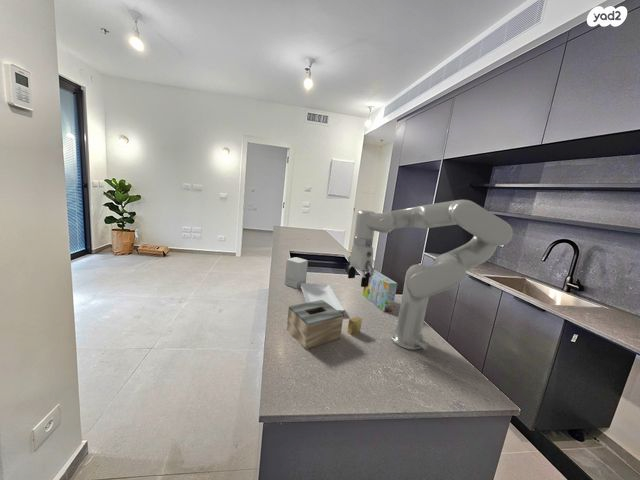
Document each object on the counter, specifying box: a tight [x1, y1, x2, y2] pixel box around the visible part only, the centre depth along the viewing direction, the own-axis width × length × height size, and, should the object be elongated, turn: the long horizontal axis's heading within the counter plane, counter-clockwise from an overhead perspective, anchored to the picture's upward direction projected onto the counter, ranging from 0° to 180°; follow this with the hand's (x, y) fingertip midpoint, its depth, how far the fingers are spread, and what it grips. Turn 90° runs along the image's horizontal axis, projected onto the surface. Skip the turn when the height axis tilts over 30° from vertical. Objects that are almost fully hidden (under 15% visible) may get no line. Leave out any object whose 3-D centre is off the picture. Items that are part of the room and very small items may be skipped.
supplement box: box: [284, 256, 309, 289], centre depth 150 cm, size 9×9×15 cm
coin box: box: [286, 300, 344, 350], centre depth 103 cm, size 14×16×10 cm
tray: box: [300, 283, 346, 313], centre depth 134 cm, size 17×32×4 cm, turn 12°
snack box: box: [362, 269, 399, 313], centre depth 139 cm, size 21×6×15 cm, turn 22°
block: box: [347, 316, 363, 336], centre depth 108 cm, size 2×5×6 cm, turn 126°
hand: (357, 282), depth 109 cm, fingers open, 9 cm apart
